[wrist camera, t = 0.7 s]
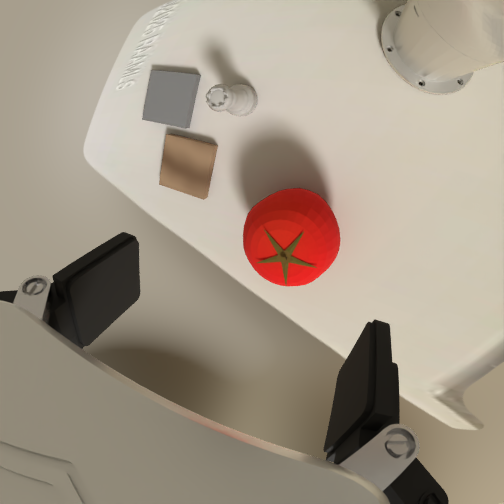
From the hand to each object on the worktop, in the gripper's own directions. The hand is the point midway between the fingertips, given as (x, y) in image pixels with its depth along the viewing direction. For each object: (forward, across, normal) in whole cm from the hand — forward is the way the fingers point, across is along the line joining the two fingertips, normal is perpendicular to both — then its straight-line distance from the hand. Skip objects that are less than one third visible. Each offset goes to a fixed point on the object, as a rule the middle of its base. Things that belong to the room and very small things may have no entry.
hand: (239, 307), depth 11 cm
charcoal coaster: (+30, +23, -6) cm, 38 cm away
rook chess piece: (+30, +12, -7) cm, 33 cm away
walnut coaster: (+30, +19, +4) cm, 35 cm away
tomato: (+30, +1, +8) cm, 31 cm away
